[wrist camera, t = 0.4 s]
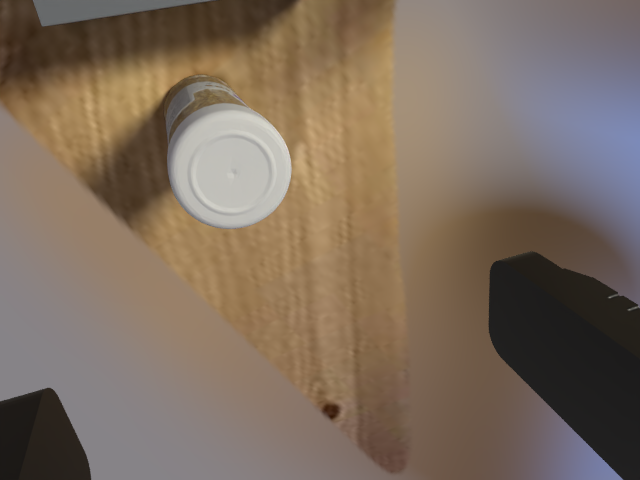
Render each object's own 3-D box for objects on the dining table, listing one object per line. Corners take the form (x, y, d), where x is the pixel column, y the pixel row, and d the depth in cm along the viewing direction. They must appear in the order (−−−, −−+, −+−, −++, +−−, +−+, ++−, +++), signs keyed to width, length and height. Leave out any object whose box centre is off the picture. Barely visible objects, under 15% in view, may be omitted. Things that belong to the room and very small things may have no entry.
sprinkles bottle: (254, 101, 31) (317, 154, 19) (215, 164, 32) (252, 252, 20) (187, 56, 29) (211, 84, 17) (147, 124, 30) (143, 196, 18)
